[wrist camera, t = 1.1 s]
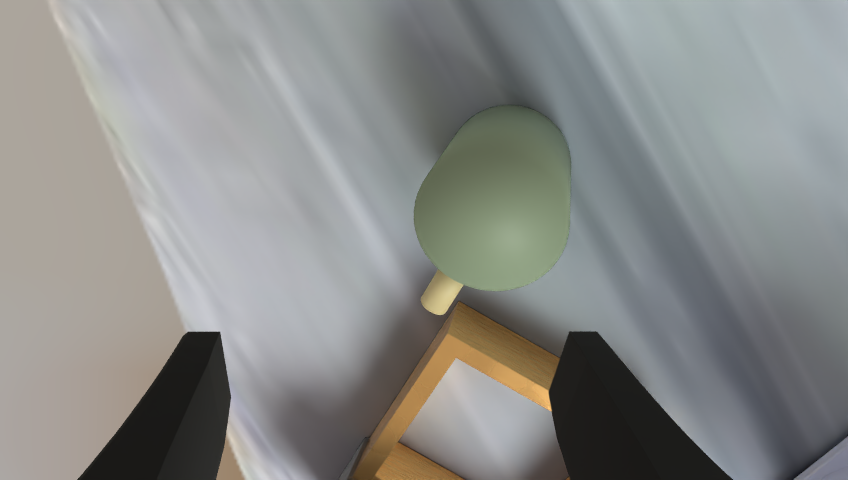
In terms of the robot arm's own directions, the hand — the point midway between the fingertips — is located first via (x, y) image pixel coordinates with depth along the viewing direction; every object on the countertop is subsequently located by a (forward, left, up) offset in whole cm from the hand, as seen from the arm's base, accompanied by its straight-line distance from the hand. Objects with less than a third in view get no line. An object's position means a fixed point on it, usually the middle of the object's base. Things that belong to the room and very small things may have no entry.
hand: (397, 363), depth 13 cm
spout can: (-1, -1, -12) cm, 12 cm away
